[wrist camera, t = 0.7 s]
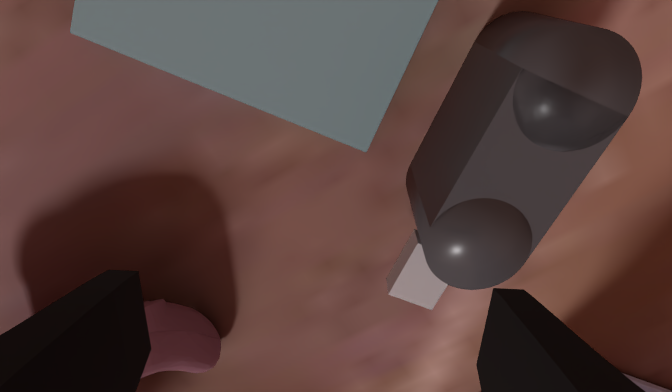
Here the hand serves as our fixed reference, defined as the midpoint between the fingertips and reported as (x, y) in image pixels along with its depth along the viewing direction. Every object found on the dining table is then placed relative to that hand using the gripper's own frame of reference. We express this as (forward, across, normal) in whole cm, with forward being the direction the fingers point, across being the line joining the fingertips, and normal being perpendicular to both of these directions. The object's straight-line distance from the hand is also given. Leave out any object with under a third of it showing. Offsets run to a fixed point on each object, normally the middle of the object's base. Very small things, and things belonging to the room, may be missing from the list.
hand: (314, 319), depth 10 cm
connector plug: (+10, -5, 0) cm, 11 cm away
